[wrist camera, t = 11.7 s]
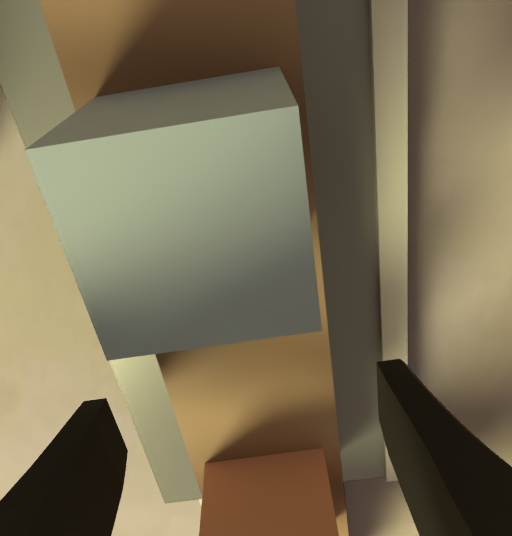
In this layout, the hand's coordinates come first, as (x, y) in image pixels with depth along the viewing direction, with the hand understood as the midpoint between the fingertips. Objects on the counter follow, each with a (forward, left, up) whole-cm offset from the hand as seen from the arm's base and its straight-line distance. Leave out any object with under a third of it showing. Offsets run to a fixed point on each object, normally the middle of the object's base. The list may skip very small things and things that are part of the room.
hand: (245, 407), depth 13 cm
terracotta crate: (-6, 0, -2) cm, 6 cm away
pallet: (0, 0, -6) cm, 6 cm away
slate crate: (+6, 0, -2) cm, 6 cm away
